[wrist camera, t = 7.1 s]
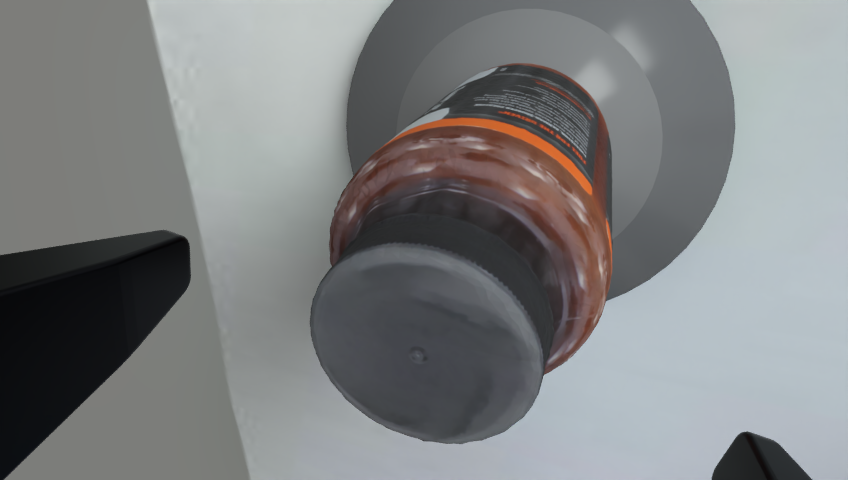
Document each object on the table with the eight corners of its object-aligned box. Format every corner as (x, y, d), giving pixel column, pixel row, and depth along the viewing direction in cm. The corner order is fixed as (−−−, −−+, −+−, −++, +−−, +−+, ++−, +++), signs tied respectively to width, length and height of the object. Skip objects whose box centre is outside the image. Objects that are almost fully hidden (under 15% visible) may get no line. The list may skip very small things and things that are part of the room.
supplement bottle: (430, 61, 18) (217, 168, 8) (620, 55, 16) (637, 182, 6) (440, 225, 20) (287, 453, 11) (604, 235, 18) (599, 522, 9)
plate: (637, 341, 21) (639, 358, 20) (340, 243, 23) (329, 253, 22) (813, -15, 15) (826, -15, 14) (383, -101, 17) (370, -105, 16)
